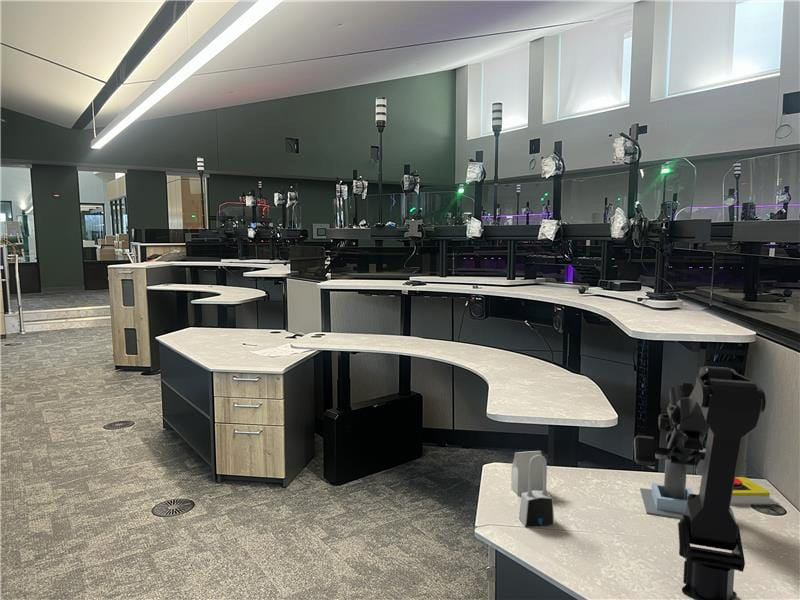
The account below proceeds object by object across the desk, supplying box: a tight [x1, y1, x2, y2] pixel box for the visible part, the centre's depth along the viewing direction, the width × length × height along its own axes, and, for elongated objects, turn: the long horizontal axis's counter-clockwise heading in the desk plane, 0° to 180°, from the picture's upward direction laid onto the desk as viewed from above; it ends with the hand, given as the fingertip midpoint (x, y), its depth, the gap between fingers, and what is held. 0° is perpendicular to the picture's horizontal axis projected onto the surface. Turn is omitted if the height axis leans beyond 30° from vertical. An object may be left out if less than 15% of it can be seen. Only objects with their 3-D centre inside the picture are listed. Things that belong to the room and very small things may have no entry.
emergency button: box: [696, 476, 779, 506], centre depth 126 cm, size 9×4×15 cm
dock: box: [639, 482, 695, 520], centre depth 121 cm, size 13×13×3 cm
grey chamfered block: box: [511, 450, 543, 496], centre depth 127 cm, size 4×7×10 cm, turn 102°
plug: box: [663, 459, 688, 500], centre depth 120 cm, size 4×4×12 cm
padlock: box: [518, 454, 555, 528], centre depth 112 cm, size 7×4×15 cm, turn 100°
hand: (674, 469), depth 121 cm, fingers open, 9 cm apart
